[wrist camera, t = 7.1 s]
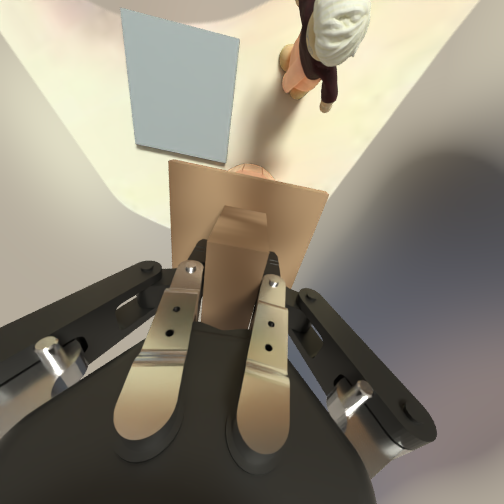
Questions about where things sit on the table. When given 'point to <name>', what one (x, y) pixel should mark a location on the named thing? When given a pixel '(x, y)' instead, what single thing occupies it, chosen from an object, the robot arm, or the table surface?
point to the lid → (238, 233)
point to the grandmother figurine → (323, 46)
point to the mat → (180, 85)
